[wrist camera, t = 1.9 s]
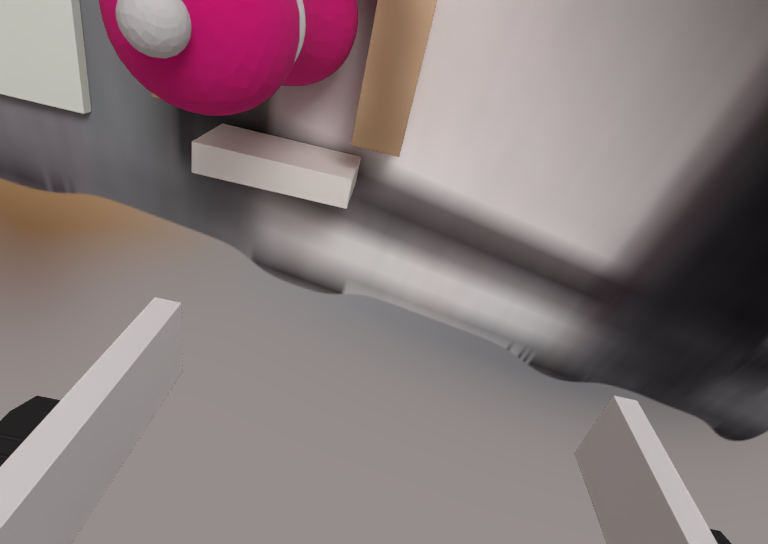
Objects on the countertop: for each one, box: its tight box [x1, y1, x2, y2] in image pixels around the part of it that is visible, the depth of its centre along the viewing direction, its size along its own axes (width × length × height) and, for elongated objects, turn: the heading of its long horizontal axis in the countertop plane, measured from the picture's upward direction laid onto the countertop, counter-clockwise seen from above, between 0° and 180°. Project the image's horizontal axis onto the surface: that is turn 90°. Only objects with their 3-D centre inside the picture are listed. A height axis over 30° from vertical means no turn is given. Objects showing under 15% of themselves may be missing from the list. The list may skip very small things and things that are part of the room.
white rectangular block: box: [192, 123, 361, 209], centre depth 30 cm, size 10×2×5 cm, turn 77°
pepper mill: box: [99, 0, 358, 116], centre depth 20 cm, size 7×7×20 cm
